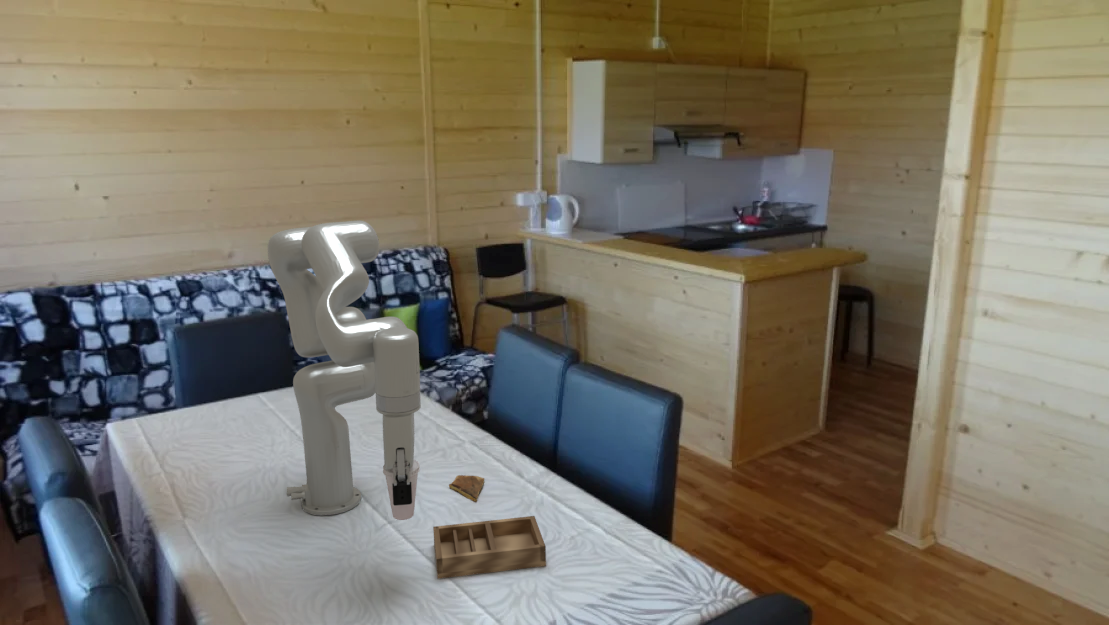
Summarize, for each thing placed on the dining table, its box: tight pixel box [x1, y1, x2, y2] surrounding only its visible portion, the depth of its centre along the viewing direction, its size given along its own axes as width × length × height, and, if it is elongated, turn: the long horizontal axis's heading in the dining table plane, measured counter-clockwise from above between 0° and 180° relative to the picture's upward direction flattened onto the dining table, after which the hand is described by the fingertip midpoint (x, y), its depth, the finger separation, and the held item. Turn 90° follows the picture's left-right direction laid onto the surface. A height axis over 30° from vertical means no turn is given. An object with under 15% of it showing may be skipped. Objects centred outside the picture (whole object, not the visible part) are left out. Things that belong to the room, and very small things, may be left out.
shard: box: [448, 474, 485, 503], centre depth 178 cm, size 11×8×2 cm
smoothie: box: [382, 449, 421, 521], centre depth 140 cm, size 6×6×14 cm
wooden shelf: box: [432, 515, 547, 580], centre depth 151 cm, size 20×12×4 cm, turn 101°
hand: (402, 493), depth 140 cm, fingers closed on smoothie, 6 cm apart
